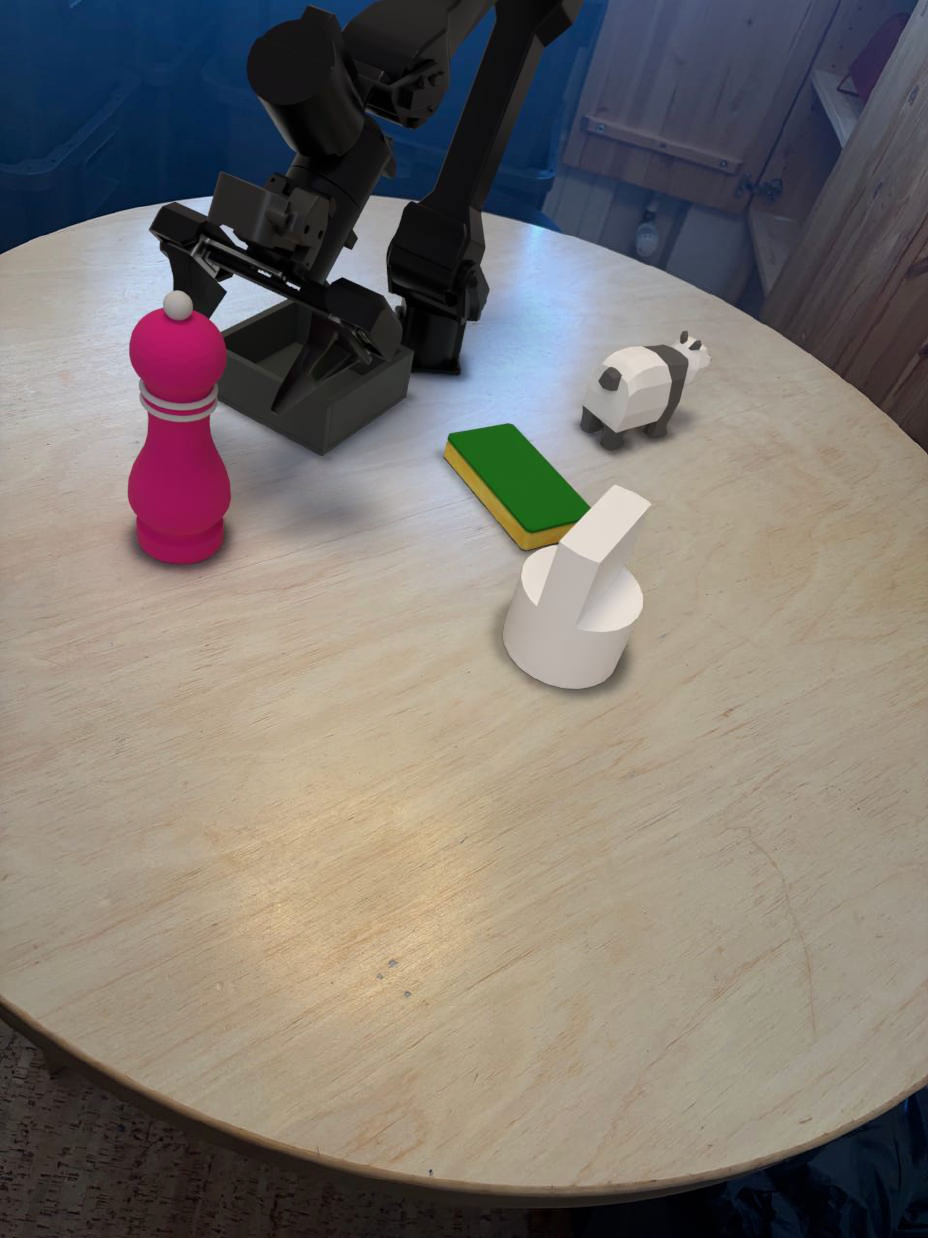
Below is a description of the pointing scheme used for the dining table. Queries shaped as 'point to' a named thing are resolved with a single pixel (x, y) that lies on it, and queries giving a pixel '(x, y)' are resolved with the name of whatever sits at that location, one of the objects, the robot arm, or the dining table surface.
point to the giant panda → (641, 388)
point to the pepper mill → (178, 434)
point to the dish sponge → (516, 484)
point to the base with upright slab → (579, 597)
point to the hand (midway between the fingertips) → (221, 387)
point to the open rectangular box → (327, 412)
